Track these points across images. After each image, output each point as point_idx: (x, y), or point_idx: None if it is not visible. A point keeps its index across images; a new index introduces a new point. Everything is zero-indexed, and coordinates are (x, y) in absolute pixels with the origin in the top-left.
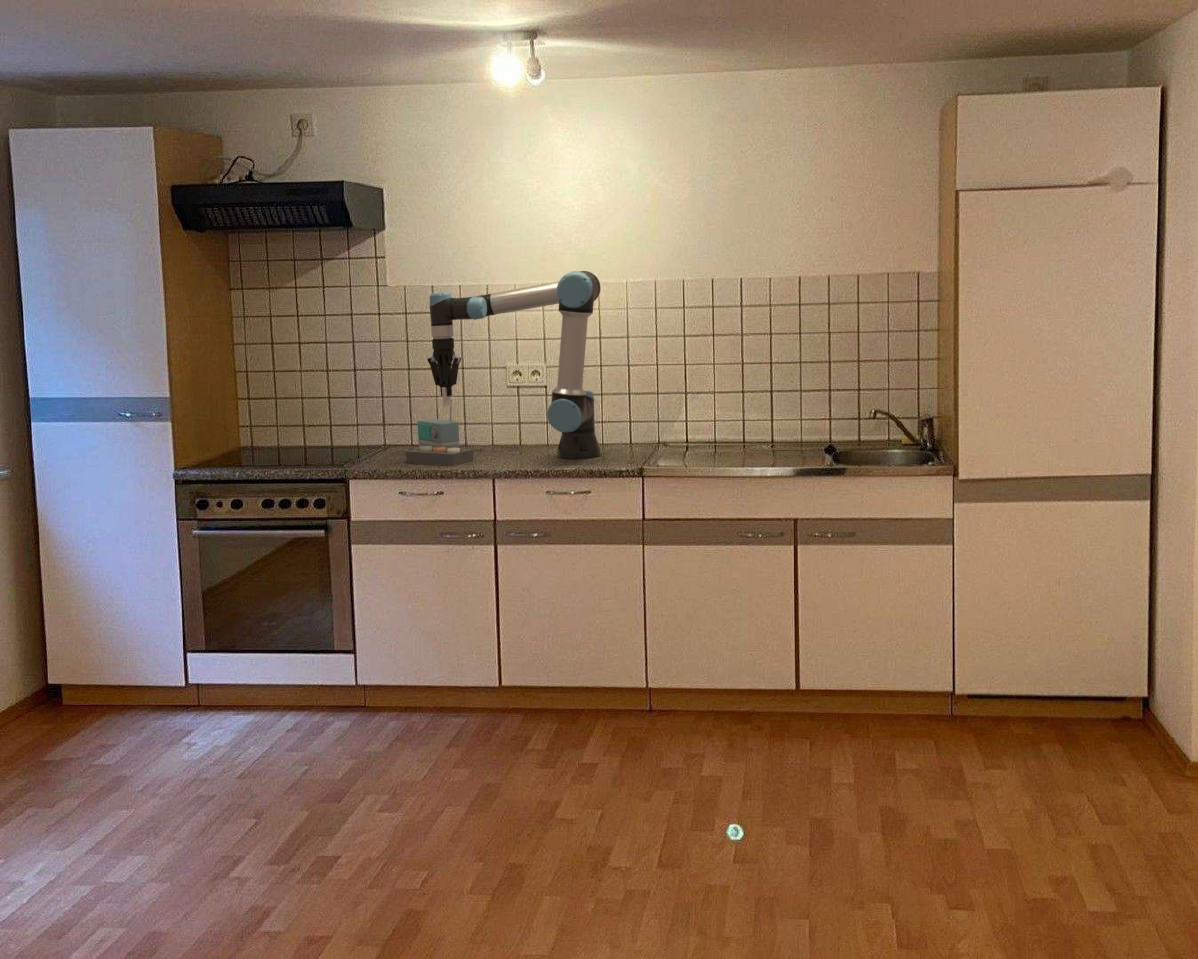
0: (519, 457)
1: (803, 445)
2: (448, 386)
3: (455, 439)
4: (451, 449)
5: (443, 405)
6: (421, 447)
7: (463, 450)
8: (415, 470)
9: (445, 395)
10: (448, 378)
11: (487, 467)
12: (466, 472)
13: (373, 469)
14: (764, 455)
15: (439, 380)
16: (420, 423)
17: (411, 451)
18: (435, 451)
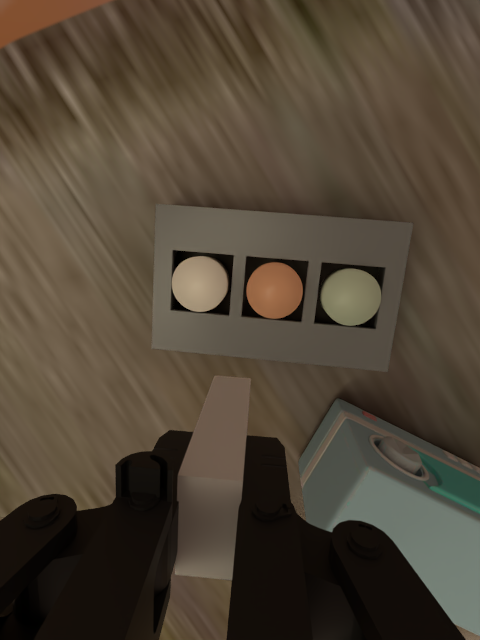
0: (61, 441)
1: None
2: (128, 497)
3: (310, 479)
4: (191, 257)
5: (246, 379)
6: (360, 274)
7: (173, 314)
8: (250, 54)
9: (204, 418)
10: (51, 631)
11: (29, 215)
12: (27, 78)
13: (451, 14)
14: None
15: (292, 589)
16: None
17: (387, 229)
18: (278, 262)
